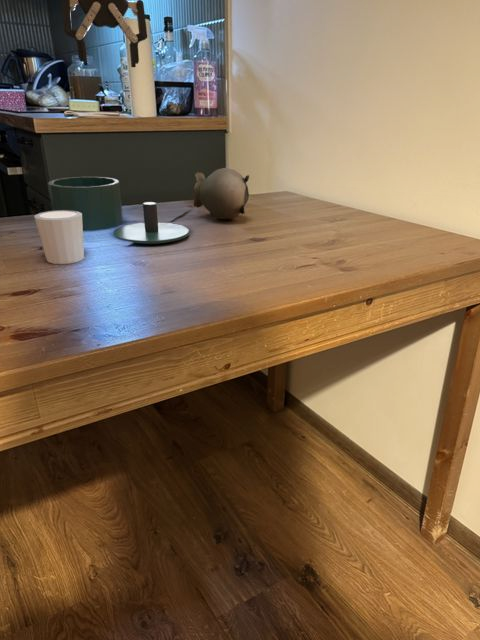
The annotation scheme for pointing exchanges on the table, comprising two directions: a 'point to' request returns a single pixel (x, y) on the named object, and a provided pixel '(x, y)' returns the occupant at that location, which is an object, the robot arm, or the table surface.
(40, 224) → the shot glass
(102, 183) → the pot
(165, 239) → the lid
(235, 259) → the table surface
